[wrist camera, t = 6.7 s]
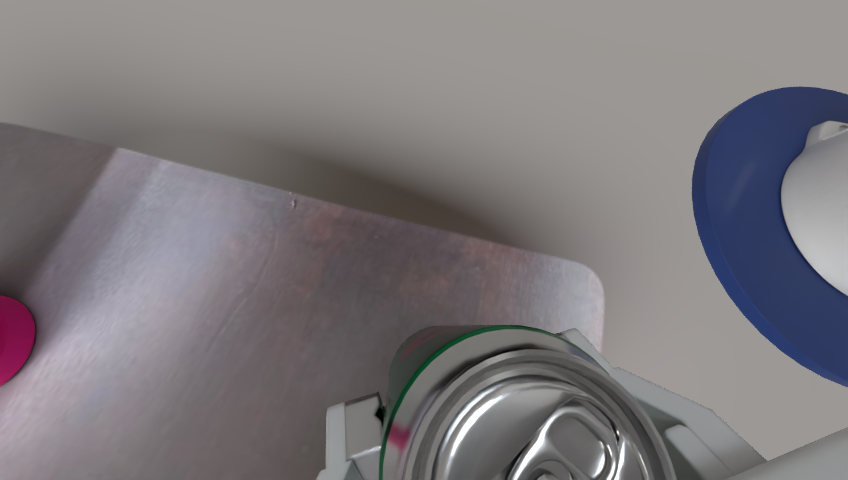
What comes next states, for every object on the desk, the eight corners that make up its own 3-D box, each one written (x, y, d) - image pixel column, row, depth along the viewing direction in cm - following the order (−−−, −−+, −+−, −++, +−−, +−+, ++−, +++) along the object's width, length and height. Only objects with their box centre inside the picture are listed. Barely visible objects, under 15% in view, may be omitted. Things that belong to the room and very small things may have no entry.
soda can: (367, 382, 16) (295, 534, 4) (433, 305, 17) (514, 263, 6) (444, 457, 15) (596, 858, 4) (506, 371, 17) (764, 475, 5)
